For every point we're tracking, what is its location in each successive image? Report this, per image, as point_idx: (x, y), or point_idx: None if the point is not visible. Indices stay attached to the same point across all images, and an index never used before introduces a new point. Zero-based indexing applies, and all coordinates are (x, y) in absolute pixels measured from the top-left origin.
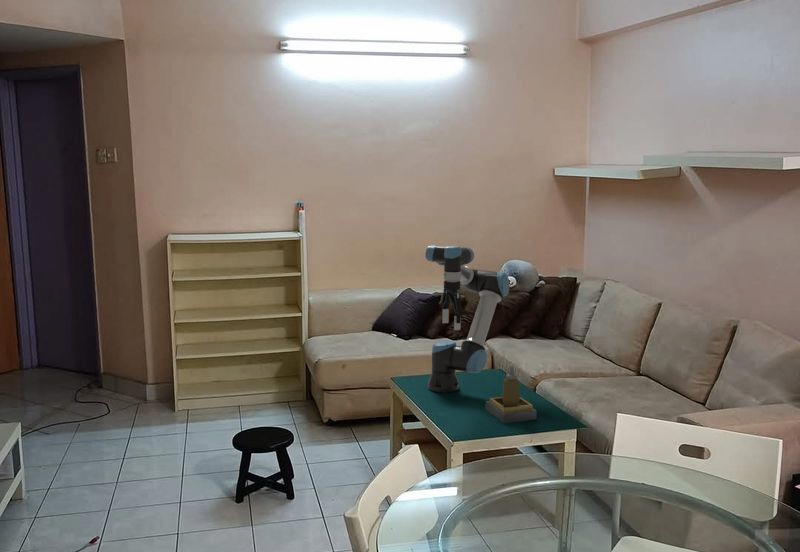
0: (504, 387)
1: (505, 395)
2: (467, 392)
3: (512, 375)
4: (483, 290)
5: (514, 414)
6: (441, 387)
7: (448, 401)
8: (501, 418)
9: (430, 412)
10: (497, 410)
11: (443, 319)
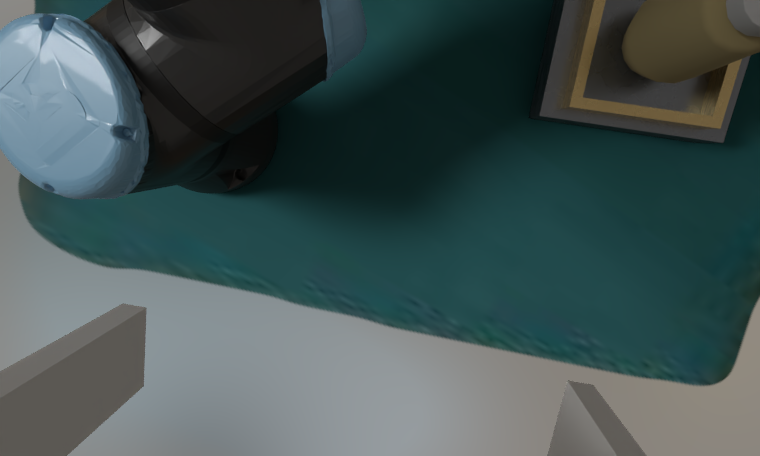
0: (709, 65)
1: (697, 75)
2: None
3: None
4: None
5: (736, 89)
6: (257, 168)
7: (370, 197)
8: (686, 140)
9: (445, 320)
10: (659, 133)
11: (102, 417)
